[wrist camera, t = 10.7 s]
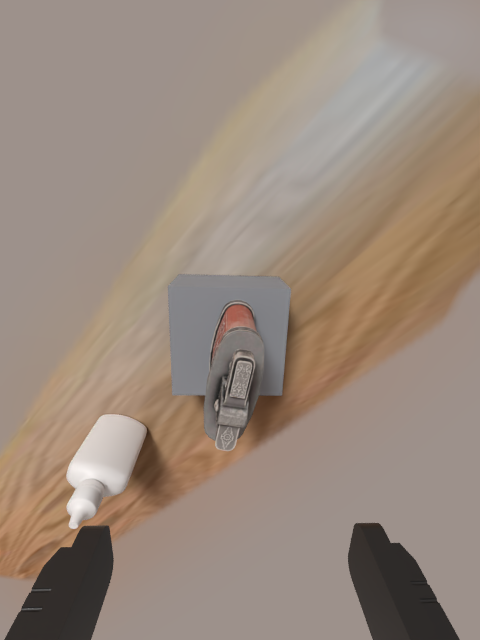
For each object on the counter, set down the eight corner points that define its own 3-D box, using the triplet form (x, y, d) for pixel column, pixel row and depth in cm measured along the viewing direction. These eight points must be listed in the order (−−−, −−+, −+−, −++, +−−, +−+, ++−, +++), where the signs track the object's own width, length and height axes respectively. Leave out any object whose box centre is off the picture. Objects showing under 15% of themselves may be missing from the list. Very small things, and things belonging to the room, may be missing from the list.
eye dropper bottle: (127, 452, 36) (82, 557, 25) (91, 422, 35) (25, 520, 23) (153, 431, 35) (119, 530, 24) (118, 400, 34) (63, 490, 22)
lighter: (240, 388, 27) (248, 476, 18) (203, 382, 27) (191, 468, 17) (260, 303, 25) (282, 353, 15) (220, 296, 25) (217, 341, 15)
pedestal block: (278, 276, 30) (290, 288, 25) (272, 366, 33) (281, 395, 28) (178, 274, 30) (167, 286, 24) (181, 365, 33) (172, 395, 27)
